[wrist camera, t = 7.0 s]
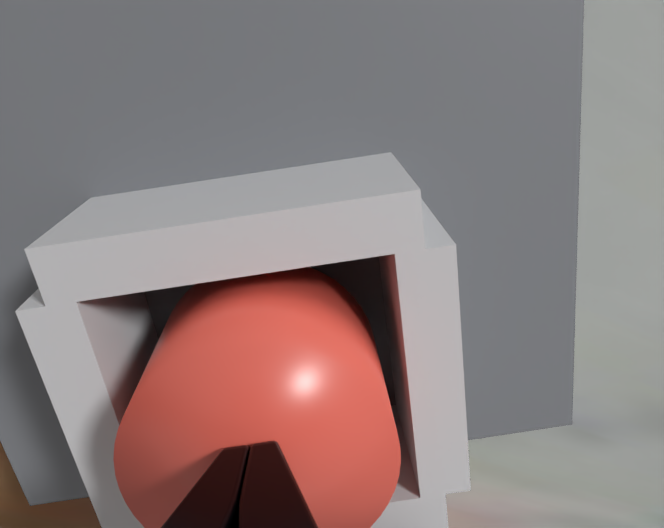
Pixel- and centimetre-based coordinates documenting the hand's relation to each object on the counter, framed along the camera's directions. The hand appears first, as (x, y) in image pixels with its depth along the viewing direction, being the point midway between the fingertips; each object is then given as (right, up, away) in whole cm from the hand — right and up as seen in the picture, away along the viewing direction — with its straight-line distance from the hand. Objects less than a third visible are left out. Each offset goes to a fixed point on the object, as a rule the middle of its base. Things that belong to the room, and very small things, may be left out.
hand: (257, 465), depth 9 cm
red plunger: (0, +1, +3) cm, 3 cm away
